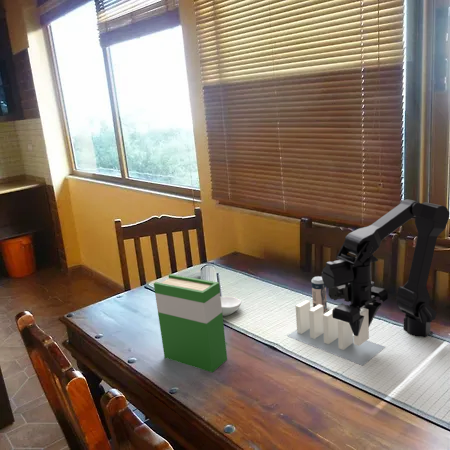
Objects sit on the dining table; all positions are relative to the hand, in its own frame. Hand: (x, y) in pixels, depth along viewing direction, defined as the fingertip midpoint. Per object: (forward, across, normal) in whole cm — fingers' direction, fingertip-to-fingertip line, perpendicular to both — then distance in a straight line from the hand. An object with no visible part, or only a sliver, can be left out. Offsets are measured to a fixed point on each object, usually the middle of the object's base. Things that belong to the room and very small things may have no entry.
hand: (361, 331), depth 128 cm
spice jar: (+7, -15, -25) cm, 30 cm away
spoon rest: (+8, +10, -51) cm, 53 cm away
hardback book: (+7, +31, -36) cm, 48 cm away
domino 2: (+6, 0, -15) cm, 16 cm away
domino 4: (+6, 0, -5) cm, 8 cm away
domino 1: (+6, 0, -20) cm, 21 cm away
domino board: (+7, 0, -9) cm, 11 cm away
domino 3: (+6, 0, -10) cm, 12 cm away
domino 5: (+3, 0, 0) cm, 3 cm away
